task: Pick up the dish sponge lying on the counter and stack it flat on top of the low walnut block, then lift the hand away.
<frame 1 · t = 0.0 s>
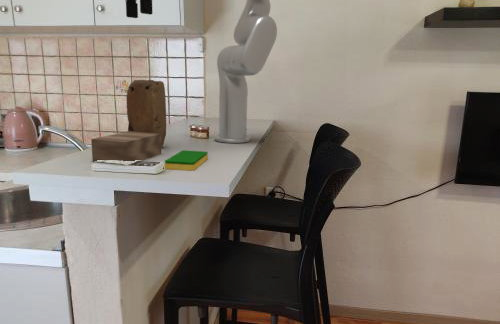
hand: (139, 15, 105), 37 cm above the worktop, tool pointing down, fingers open, 9 cm apart
dish sponge: (187, 165, 96), on the worktop
block: (146, 147, 116), on the worktop
walnut block: (129, 158, 101), on the worktop
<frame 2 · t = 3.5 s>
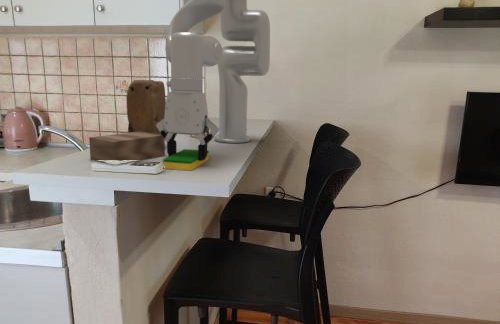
hand: (187, 157, 96), 1 cm above the worktop, tool pointing down, fingers closed on dish sponge, 7 cm apart
dish sponge: (187, 164, 96), on the worktop, touching gripper
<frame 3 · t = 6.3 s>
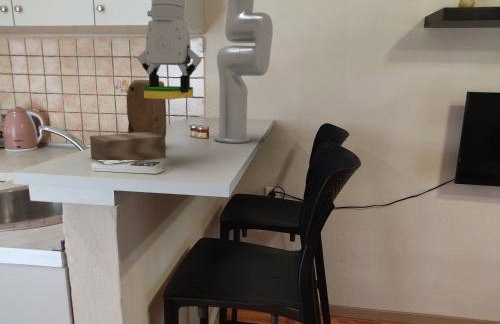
hand: (169, 91, 94), 18 cm above the worktop, tool pointing down, fingers closed on dish sponge, 7 cm apart
dish sponge: (170, 98, 95), point 16 cm above the worktop, touching gripper
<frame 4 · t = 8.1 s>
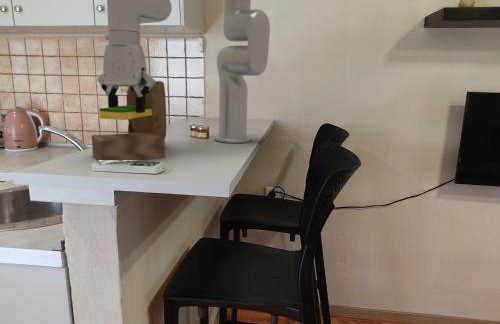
hand: (127, 111, 98), 12 cm above the worktop, tool pointing down, fingers closed on dish sponge, 7 cm apart
dish sponge: (127, 117, 99), point 11 cm above the worktop, touching gripper
when the fingers open (8 cm above the worktop, at t = 9.3 s): dish sponge drops 1 cm, resting on walnut block.
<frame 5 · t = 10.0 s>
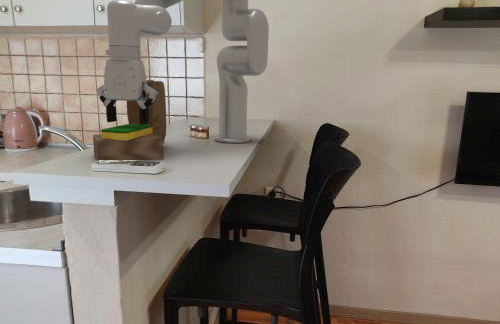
hand: (127, 123, 99), 9 cm above the worktop, tool pointing down, fingers open, 9 cm apart
dish sponge: (128, 136, 100), point 5 cm above the worktop, touching walnut block
walnut block: (128, 158, 101), on the worktop, touching dish sponge
everything else where it was.
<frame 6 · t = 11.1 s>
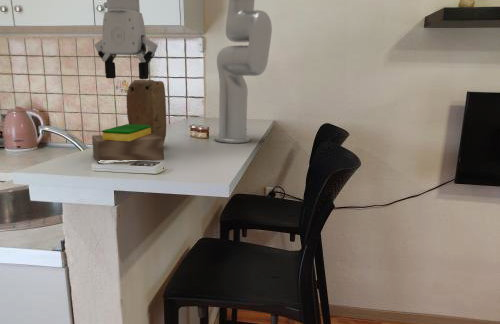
hand: (127, 78, 97), 20 cm above the worktop, tool pointing down, fingers open, 9 cm apart
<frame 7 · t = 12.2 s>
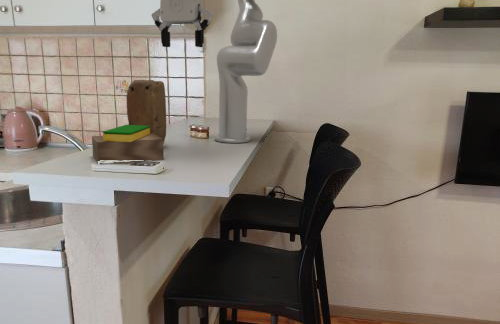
hand: (182, 46, 101), 29 cm above the worktop, tool pointing down, fingers open, 9 cm apart
nothing on the worktop moved.
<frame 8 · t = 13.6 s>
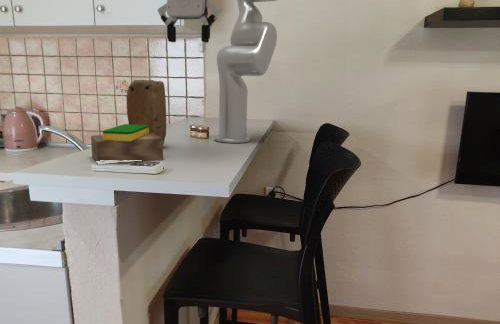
hand: (188, 41, 102), 30 cm above the worktop, tool pointing down, fingers open, 9 cm apart
nothing on the worktop moved.
at the end: dish sponge inside the target area on the walnut block (0.3 cm from its centre), point 5.8 cm above the walnut block's base; the gripper is holding nothing; walnut block tilted 0° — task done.
